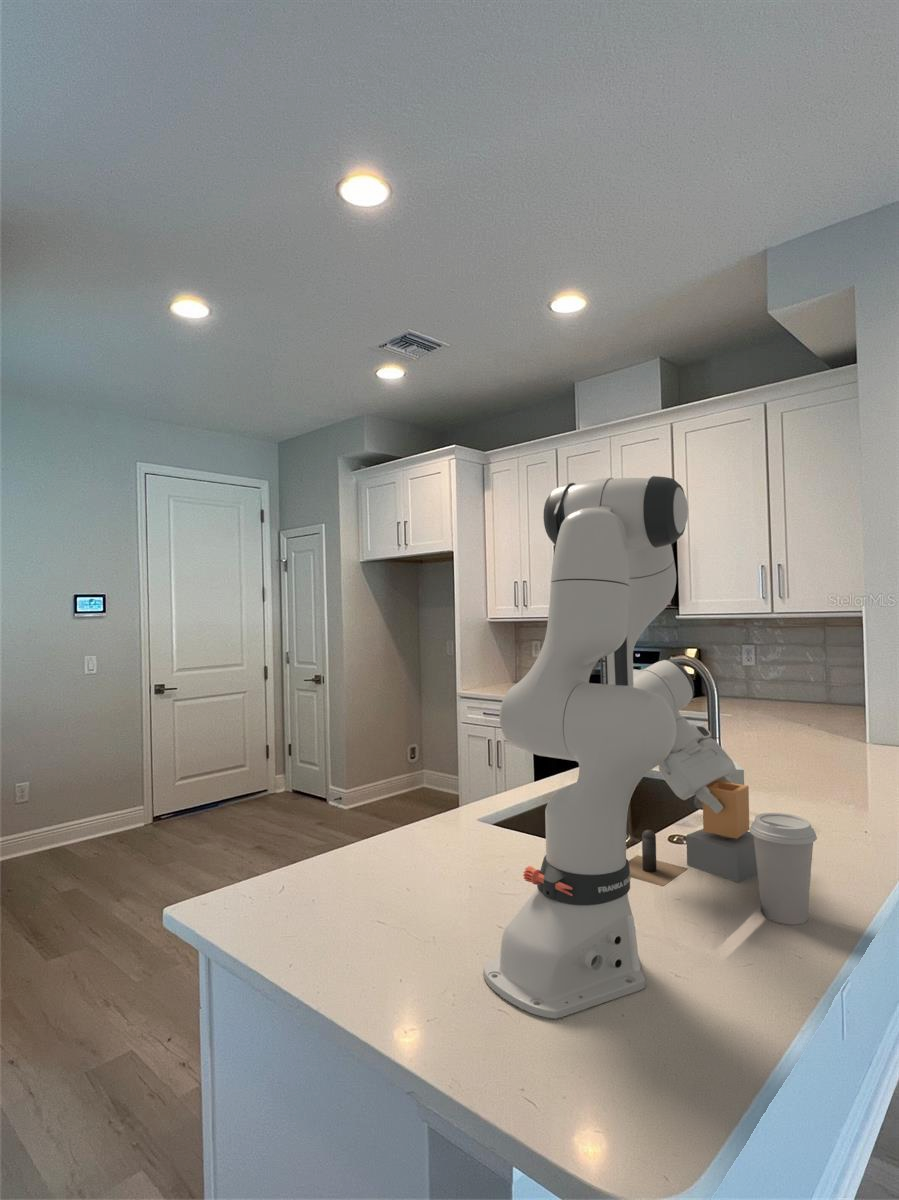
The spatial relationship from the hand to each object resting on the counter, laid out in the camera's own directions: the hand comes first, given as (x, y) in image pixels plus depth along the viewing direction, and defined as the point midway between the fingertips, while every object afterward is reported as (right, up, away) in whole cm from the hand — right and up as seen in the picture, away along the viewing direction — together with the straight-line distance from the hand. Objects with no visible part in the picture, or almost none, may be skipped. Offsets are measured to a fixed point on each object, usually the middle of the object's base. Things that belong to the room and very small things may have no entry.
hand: (729, 805), depth 126 cm
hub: (0, -13, +1) cm, 13 cm away
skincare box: (+7, -13, +18) cm, 23 cm away
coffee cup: (+2, -13, -16) cm, 20 cm away
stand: (-15, -13, 0) cm, 20 cm away
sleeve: (0, -5, 0) cm, 5 cm away
